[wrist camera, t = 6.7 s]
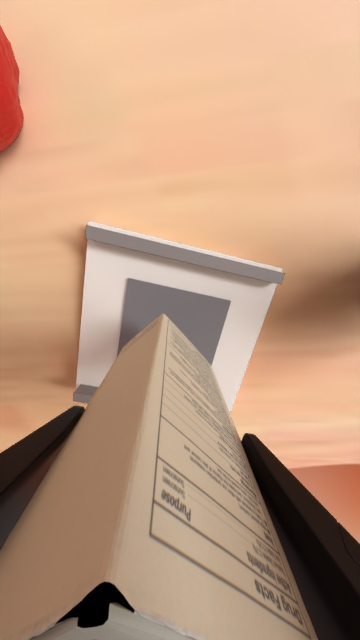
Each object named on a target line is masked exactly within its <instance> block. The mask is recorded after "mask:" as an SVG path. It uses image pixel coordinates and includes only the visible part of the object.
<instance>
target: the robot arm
mask: <svg viewBox="0 0 360 640" xmlns="http://www.w3.org/2000/svg"><path fill="white" fill-rule="evenodd" d="M84 410H85V409H84V407H82V406H73V407H71V408H70V409H68V410H67V411H65V412H64V413H62V414H60V415H59V416H57V417H56V418H54V419H53V420H51V421H50V422H48V423H46V424H45V425H43V426H42V427H40V428H39V429H37V430H36V431H34V432H33V433H31V434H29V435H28V436H26V437H25V438H23V439H22V440H20V441H19V442H17V443H15V444H14V445H12V446H11V447H9V448H8V449H6V450H5V451H3V452H2V453H0V549H1V548H2V546H3V544H4V543H5V541H6V539H7V538H8V536H9V534H10V533H11V531H12V529H13V528H14V526H15V524H16V523H17V521H18V519H19V518H20V516H21V515H22V513H23V511H24V510H25V508H26V506H27V505H28V503H29V501H30V500H31V498H32V496H33V495H34V493H35V491H36V490H37V488H38V486H39V485H40V483H41V481H42V480H43V478H44V476H45V475H46V473H47V471H48V470H49V468H50V467H51V465H52V463H53V462H54V460H55V458H56V457H57V455H58V453H59V452H60V450H61V448H62V447H63V445H64V443H65V442H66V440H67V438H68V437H69V435H70V433H71V432H72V430H73V429H74V427H75V425H76V424H77V422H78V420H79V419H80V417H81V415H82V414H83V412H84ZM241 443H242V446H243V448H244V451H245V453H246V456H247V459H248V461H249V464H250V467H251V469H252V472H253V474H254V477H255V479H256V482H257V484H258V487H259V490H260V492H261V495H262V497H263V500H264V503H265V505H266V508H267V510H268V513H269V515H270V518H271V520H272V523H273V525H274V528H275V531H276V533H277V536H278V538H279V541H280V543H281V546H282V548H283V551H284V553H285V556H286V558H287V561H288V564H289V566H290V569H291V571H292V574H293V576H294V579H295V581H296V584H297V587H298V589H299V592H300V595H301V598H302V600H303V603H304V605H305V608H306V610H307V613H308V615H309V617H310V620H311V623H312V625H313V628H314V630H315V633H316V635H317V638H318V640H360V544H359V543H358V542H357V541H356V540H355V539H354V538H353V537H352V536H351V535H350V533H349V532H348V531H347V530H346V529H345V528H344V527H343V526H342V525H341V524H340V523H338V522H337V520H336V519H335V518H334V517H333V516H332V515H331V514H330V513H329V512H328V511H327V510H326V509H325V508H324V507H323V505H322V504H321V503H320V502H319V501H318V500H317V499H316V498H315V497H314V496H313V495H312V494H311V493H310V492H309V491H308V490H307V489H306V488H305V487H304V486H303V485H302V484H301V483H300V481H299V480H297V478H296V477H295V476H294V475H293V474H292V473H291V472H290V471H289V470H288V469H287V468H286V467H285V466H284V465H283V464H282V463H281V462H280V461H279V460H278V459H277V458H276V456H275V455H274V454H273V453H272V452H271V451H270V450H269V449H268V448H267V447H266V446H265V445H264V444H263V443H262V442H261V441H260V440H259V439H258V438H257V437H256V436H255V435H254V434H249V433H245V434H244V436H243V439H242V441H241Z"/></svg>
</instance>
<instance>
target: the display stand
mask: <svg viewBox="0 0 360 640" xmlns="http://www.w3.org/2000/svg"><path fill="white" fill-rule="evenodd" d="M85 238H86V239H88V240H87V252H86V265H85V278H84V290H83V303H82V316H81V328H80V341H79V353H78V366H77V379H76V391H75V392H74V394H73V401H76V402H82V403H88V404H89V402H90V401H91V399H92V397H93V396H94V394H95V392H96V391H97V389H98V387H99V386H100V384H101V383H102V381H103V379H104V378H105V376H106V375H107V373H108V371H109V370H110V368H111V366H112V365H113V363H114V361H115V360H116V358H117V357H118V355H119V353H120V352H121V350H122V348H123V347H124V346H125V345H126V344H127V343H128V342H129V341H130V340H131V339H132V338H134V337H135V336H136V335H137V334H138V333H139V332H141V331H142V330H143V329H144V328H145V327H147V326H148V325H149V324H150V323H151V322H153V321H154V320H155V319H156V318H158V317H159V316H160V315H161V314H165V315H166V316H167V317H168V318H169V319H170V320H171V321H172V322H173V323H174V324H175V326H176V327H177V328H178V329H179V330H180V331H181V332H182V333H183V334H184V335H185V337H186V338H187V339H188V340H189V341H190V342H191V343H192V344H193V345H194V347H195V348H196V349H197V350H198V351H199V352H200V353H201V354H202V356H203V357H204V358H205V359H206V360H207V362H208V363H209V364H210V365H211V366H212V369H213V371H214V374H215V376H216V379H217V382H218V384H219V387H220V389H221V392H222V394H223V397H224V400H225V402H226V405H227V407H228V410H229V412H231V410H232V407H233V404H234V401H235V399H236V396H237V393H238V390H239V388H240V385H241V382H242V379H243V377H244V374H245V371H246V368H247V366H248V363H249V360H250V357H251V355H252V352H253V349H254V347H255V344H256V341H257V338H258V336H259V333H260V330H261V327H262V325H263V322H264V319H265V316H266V314H267V311H268V308H269V305H270V303H271V300H272V297H273V294H274V292H275V289H276V286H277V284H281V283H282V281H283V278H284V275H285V273H282V270H283V268H279V267H275V266H271V265H267V264H262V263H258V262H254V261H250V260H246V259H242V258H238V257H234V256H230V255H226V254H222V253H218V252H214V251H210V250H205V249H201V248H197V247H193V246H189V245H185V244H181V243H177V242H173V241H169V240H165V239H161V238H157V237H153V236H148V235H144V234H140V233H136V232H132V231H128V230H124V229H120V228H116V227H112V226H108V225H104V224H100V223H96V222H91V221H89V225H86V236H85Z"/></svg>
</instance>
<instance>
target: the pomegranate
mask: <svg viewBox="0 0 360 640" xmlns="http://www.w3.org/2000/svg"><path fill="white" fill-rule="evenodd" d="M18 83H19V68H18V65H17V63H16V60H15V57H14V53H13V51H12V47H11V44H10V42H9V40H8V39H7V37H6V35H5V33H4V32H3V30H2V28H1V26H0V151H3V150H4V149H5V148H7V147H8V146H9V145H10V144H11V143H12V142H13V141H14V140H15V139H16V138H17V137H18V134H19V132H20V130H21V128H22V124H23V112H22V109H21V106H20V100H19V96H18V90H17V87H18Z"/></svg>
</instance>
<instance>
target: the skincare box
mask: <svg viewBox="0 0 360 640" xmlns="http://www.w3.org/2000/svg"><path fill="white" fill-rule="evenodd" d="M0 640H318V638H317V635H316V633H315V630H314V628H313V625H312V623H311V620H310V617H309V615H308V613H307V610H306V608H305V605H304V603H303V600H302V598H301V595H300V592H299V589H298V587H297V584H296V581H295V579H294V576H293V574H292V571H291V569H290V566H289V564H288V561H287V558H286V556H285V553H284V551H283V548H282V546H281V543H280V541H279V538H278V536H277V533H276V531H275V528H274V525H273V523H272V520H271V518H270V515H269V513H268V510H267V508H266V505H265V503H264V500H263V497H262V495H261V492H260V490H259V487H258V484H257V482H256V479H255V477H254V474H253V472H252V469H251V467H250V464H249V461H248V459H247V456H246V453H245V451H244V448H243V446H242V443H241V441H240V438H239V435H238V433H237V430H236V428H235V425H234V423H233V420H232V417H231V415H230V412H229V410H228V407H227V405H226V402H225V400H224V397H223V394H222V392H221V389H220V387H219V384H218V382H217V379H216V376H215V374H214V371H213V369H212V366H211V365H210V364H209V363H208V362H207V360H206V359H205V358H204V357H203V356H202V354H201V353H200V352H199V351H198V350H197V349H196V348H195V347H194V345H193V344H192V343H191V342H190V341H189V340H188V339H187V338H186V337H185V335H184V334H183V333H182V332H181V331H180V330H179V329H178V328H177V327H176V326H175V324H174V323H173V322H172V321H171V320H170V319H169V318H168V317H167V316H166V315H165V314H161V315H160V316H159V317H158V318H156V319H155V320H154V321H153V322H151V323H150V324H149V325H148V326H147V327H145V328H144V329H143V330H142V331H141V332H139V333H138V334H137V335H136V336H135V337H134V338H132V339H131V340H130V341H129V342H128V343H127V344H126V345H125V346H124V347H123V348H122V350H121V352H120V353H119V355H118V357H117V358H116V360H115V361H114V363H113V365H112V366H111V368H110V370H109V371H108V373H107V375H106V376H105V378H104V379H103V381H102V383H101V384H100V386H99V387H98V389H97V391H96V392H95V394H94V396H93V397H92V399H91V401H90V402H89V404H88V406H87V407H86V409H85V410H84V412H83V414H82V415H81V417H80V419H79V420H78V422H77V424H76V425H75V427H74V429H73V430H72V432H71V433H70V435H69V437H68V438H67V440H66V442H65V443H64V445H63V447H62V448H61V450H60V452H59V453H58V455H57V457H56V458H55V460H54V462H53V463H52V465H51V467H50V468H49V470H48V471H47V473H46V475H45V476H44V478H43V480H42V481H41V483H40V485H39V486H38V488H37V490H36V491H35V493H34V495H33V496H32V498H31V500H30V501H29V503H28V505H27V506H26V508H25V510H24V511H23V513H22V515H21V516H20V518H19V519H18V521H17V523H16V524H15V526H14V528H13V529H12V531H11V533H10V534H9V536H8V538H7V539H6V541H5V543H4V544H3V546H2V548H1V549H0Z"/></svg>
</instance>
